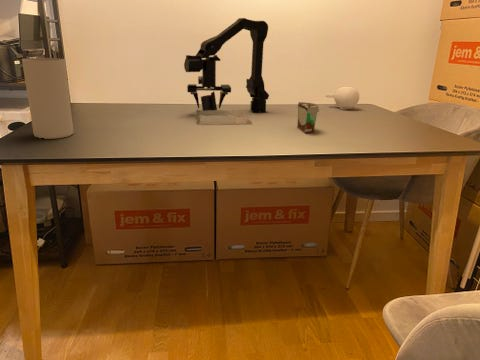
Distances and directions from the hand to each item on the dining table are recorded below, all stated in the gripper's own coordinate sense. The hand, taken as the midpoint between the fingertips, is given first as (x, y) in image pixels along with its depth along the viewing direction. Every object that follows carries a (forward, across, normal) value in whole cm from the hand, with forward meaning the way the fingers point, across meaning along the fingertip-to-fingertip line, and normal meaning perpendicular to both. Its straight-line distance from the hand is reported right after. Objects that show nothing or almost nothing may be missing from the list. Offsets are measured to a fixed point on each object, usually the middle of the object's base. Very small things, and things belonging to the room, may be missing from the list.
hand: (209, 108), depth 176 cm
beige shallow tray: (+3, -5, +13) cm, 14 cm away
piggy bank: (+3, -70, -17) cm, 72 cm away
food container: (+3, -36, +31) cm, 48 cm away
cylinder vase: (+3, +56, +34) cm, 66 cm away
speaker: (+3, 0, 0) cm, 3 cm away
